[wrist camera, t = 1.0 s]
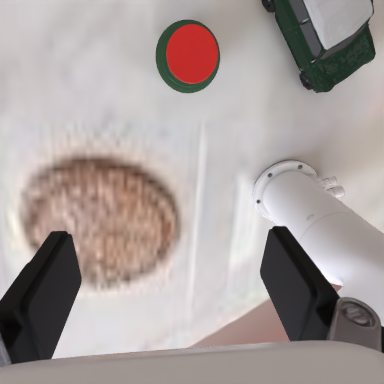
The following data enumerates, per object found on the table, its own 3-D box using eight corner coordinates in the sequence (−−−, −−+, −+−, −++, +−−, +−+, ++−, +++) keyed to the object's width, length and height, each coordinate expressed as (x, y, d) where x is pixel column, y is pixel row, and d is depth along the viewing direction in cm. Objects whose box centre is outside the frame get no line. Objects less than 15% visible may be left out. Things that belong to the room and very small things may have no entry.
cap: (206, 24, 21) (212, 16, 18) (216, 74, 23) (223, 75, 20) (161, 38, 22) (159, 33, 18) (174, 87, 23) (174, 89, 20)
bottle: (198, 31, 34) (222, -5, 18) (208, 79, 37) (237, 85, 21) (154, 44, 34) (140, 20, 18) (168, 91, 37) (166, 106, 21)
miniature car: (308, 97, 39) (338, 103, 32) (251, -18, 32) (274, -44, 25) (360, 59, 37) (405, 56, 30) (312, -73, 30) (356, -118, 23)
